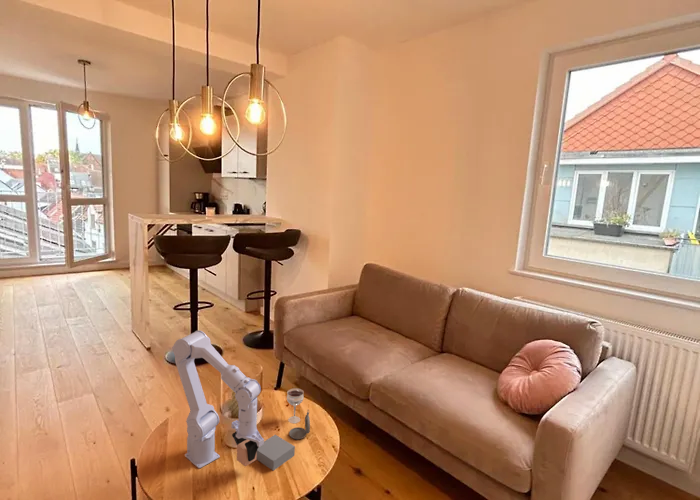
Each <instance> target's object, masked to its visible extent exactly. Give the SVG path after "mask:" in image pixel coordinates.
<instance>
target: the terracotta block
mask: <svg viewBox="0 0 700 500" xmlns="http://www.w3.org/2000/svg"><path fill="white" fill-rule="evenodd" d="M248 441H250V440H245V441H243V442H241V443H240V444H238V445H237V444H236V461H238V462H239V463H240V465H242V466H243V467H247V466H249V465H250V464H252V463H254V462H255V461H257V459H256V458H257V452H256V455H255V459H253V460H252V461H248V454H247V449H246V446H245V443H247V442H248Z"/></svg>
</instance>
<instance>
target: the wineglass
mask: <svg viewBox="0 0 700 500" xmlns="http://www.w3.org/2000/svg"><path fill="white" fill-rule="evenodd" d="M304 393H305V392H304V390H303V389H301V388H296V387H295V388H290V389H288V390H287V392H286V394H287V395H286V400H287V402H288V403H289V405H291V406H293V416H290V417H289V418H288V419H287V420H288V422H289V423H291V424H298V423H299V422H301V418H300V417H299V416H296V408H297V406H299V405H300V404H301V403H302V402H303V401H304V398H305V397H304Z"/></svg>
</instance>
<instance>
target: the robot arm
mask: <svg viewBox="0 0 700 500" xmlns="http://www.w3.org/2000/svg"><path fill="white" fill-rule="evenodd" d="M171 349H172V352H173V354H174V362H175V366H176V369H177V371H178V372H177V373H178V375H179V378H180V381H181V385H182V388H183V390H184V394H185V397H186V401H187V403H188V407H189V414H188V415H187V418H186V420H185V422H186V426H187V428H186V431H187V437H186V449H187V451H186V453H185V454H184V457H186V459H187V460H188V461H189V462H191V463H192V464H193V465H194V466H195V467H197V468H198V469H201V468H203V467H205V466H207V465H208V464H210V463H212V462H213V461H216V460H217V459H219V458H220V457H221V456H220V454H218V453H217V452H216V451H215V449H216V447H215V439H216V436H215V435H216V433H215V431H216V430H217V429H216V427H217V426H218V425H219V423H220V416H219V414H218V412H217V411H216V410H215V407H214V405H212V404H209V403H207V399H206V397H205V393H204V390H203V387H202V383H201V380H200V376H199V373H198V370H197V367H196V364H195V359H204V360H205V361H206V362H207V363H208V364H210V365H211V366H212V367H213V368H215V369H214V370H216V371H218V372H219V373H220V379H221V380H222V381H223V382H224V383H225V385H227V386H228V387H229V389H230V390H232V391H233V392H234V393H235V394H234V397H235V401H236V402H237V406H238V420H237V419H235V420H234V421H232V422H231V429H232V430H234V429H235V432H233V433H232V434H231V436H232V438H233V440H234V442H235V445H236V446H237V445H238V444H240V443H241V442H243V441H245V440H250V441H248V442H247V443H245V446H246V449H247V454H248V461H252V460H253V459H255V455H256V452H257V449H258V447H260V446H262V445H263V444H264V441H265V438H263V437H262V435H261V434H260V432H259V430H258V428H257V423H258V422H257V421H258V417H257V416H258V415H257V413H258V396H259V395H260V394H261V391H262V388H261V384H260V382H258V380H256V379H255V378H254V379H253V378H250V377H248V376H246V375H245V374H244V373H243V372H242V371H241V370H240V368H239V367H238V366H236V365H235V364H228V362H227V361H226V359H224V358H223V356H222V355H221V354H220V353H219V351H217V349H216V348H215V347H214V346H213V345H212V341H211V338H210V337H209V336H208V335H207V334H206V333H205V332H204V331H203V330H195V331H194V332H192V333H190V334H188V335H186V336H184V337H181V338H179V339H176V341H175V342H174V343H173V345H172V348H171Z"/></svg>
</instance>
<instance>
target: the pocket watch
mask: <svg viewBox="0 0 700 500" xmlns="http://www.w3.org/2000/svg"><path fill="white" fill-rule="evenodd" d="M309 411H310V409H307V411H306V415H305V417H304V428H303V427H293V428H292V429H290V430H289V433H288V435H289V437H290V438H292V439H293V440H300V439H301V440H302V439H304V438H305V437H306V436H307V434H310V430H311V423H310V422H311V421H310V415H309V414H310V412H309Z"/></svg>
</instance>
